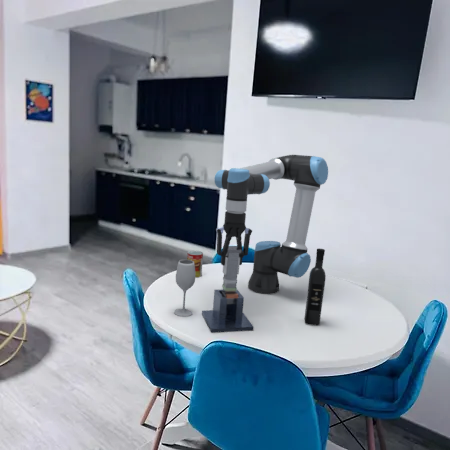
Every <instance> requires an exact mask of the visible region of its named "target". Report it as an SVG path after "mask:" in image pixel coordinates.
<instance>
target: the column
mask: <svg viewBox="0 0 450 450" xmlns="http://www.w3.org/2000/svg"><path fill="white" fill-rule="evenodd" d="M239 253H241V249H239V248H238V247H237V245H229V247H228V249H227V254H226V256H227V257H228V261H227V274H226V275H224V274H223V276H222V280H223V281H222V286H221V287H222V289H223V292H222V296H223V297H226V294H236V290H238V288H237V285H238V274H237V273H238V261H239ZM235 299H236V298H227V304H235Z"/></svg>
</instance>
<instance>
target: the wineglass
mask: <svg viewBox="0 0 450 450" xmlns="http://www.w3.org/2000/svg"><path fill="white" fill-rule="evenodd" d="M175 272H176V273H175V283H176V285H177V286H178V288H179V289H181V290H182V291H183V292H182V293H183V297H182V298H183V300H182V308H177V309H175V310H174V311H173V313H174V315H175V316H177V317H190V316H192V315H193V311H192V310H191V309H189V308H186V306H185V305H186V293H187V291H188V290H189V289H191V288H192V287H193V286H194V284H195V281H196V278H195V265H194V261H192V260H187V259H179V261H178V263H177V267H176V271H175Z"/></svg>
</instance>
